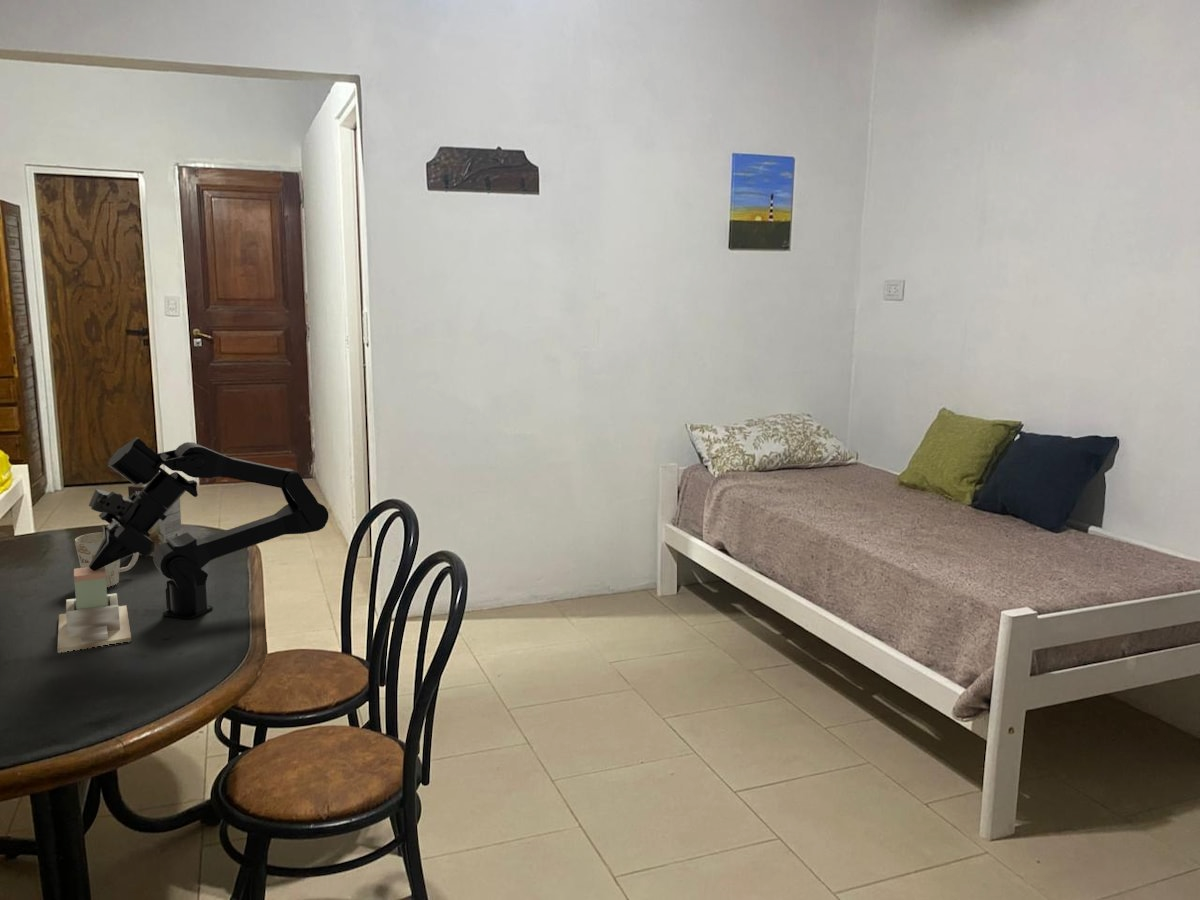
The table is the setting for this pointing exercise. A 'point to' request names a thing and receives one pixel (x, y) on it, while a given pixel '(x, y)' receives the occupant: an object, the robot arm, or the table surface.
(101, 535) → the mug
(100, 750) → the table surface
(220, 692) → the table surface
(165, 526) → the coffee box
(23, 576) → the table surface
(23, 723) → the table surface
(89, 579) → the block
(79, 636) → the card holder
